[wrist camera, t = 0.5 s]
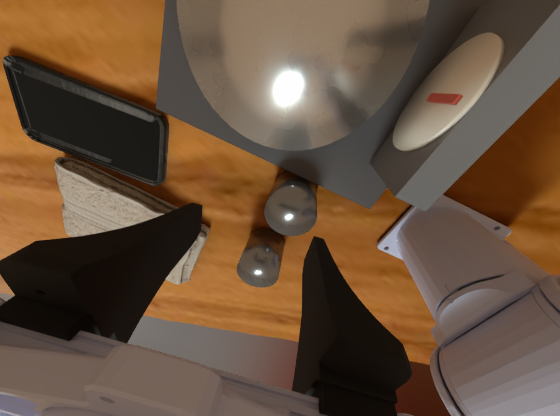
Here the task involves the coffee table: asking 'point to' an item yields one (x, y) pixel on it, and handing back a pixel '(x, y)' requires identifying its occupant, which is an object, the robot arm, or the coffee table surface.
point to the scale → (409, 101)
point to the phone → (88, 121)
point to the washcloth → (113, 207)
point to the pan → (299, 63)
